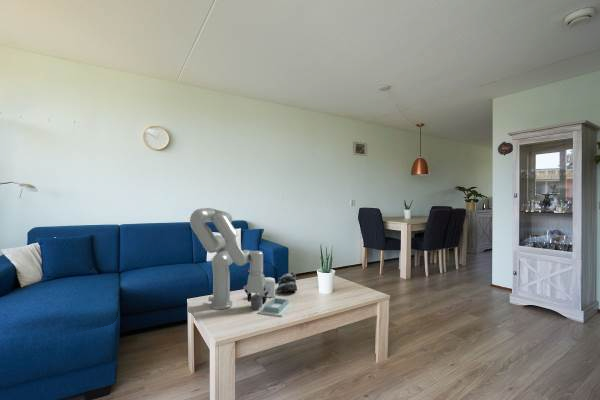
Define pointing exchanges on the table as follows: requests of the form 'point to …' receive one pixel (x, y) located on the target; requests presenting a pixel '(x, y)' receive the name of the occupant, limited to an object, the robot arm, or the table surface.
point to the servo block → (256, 301)
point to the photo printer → (270, 286)
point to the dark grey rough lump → (287, 283)
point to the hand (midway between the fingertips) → (256, 301)
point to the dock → (276, 307)
